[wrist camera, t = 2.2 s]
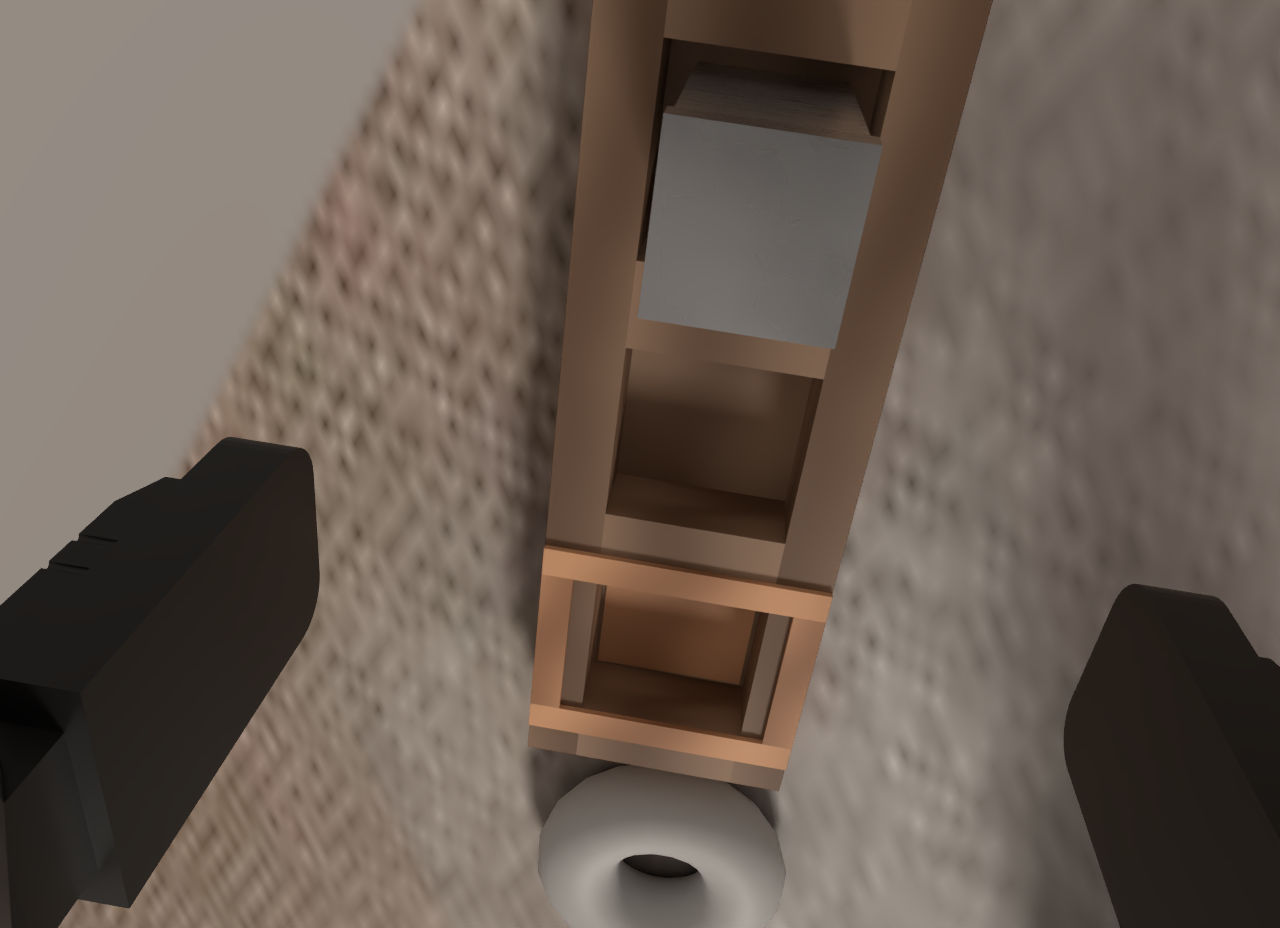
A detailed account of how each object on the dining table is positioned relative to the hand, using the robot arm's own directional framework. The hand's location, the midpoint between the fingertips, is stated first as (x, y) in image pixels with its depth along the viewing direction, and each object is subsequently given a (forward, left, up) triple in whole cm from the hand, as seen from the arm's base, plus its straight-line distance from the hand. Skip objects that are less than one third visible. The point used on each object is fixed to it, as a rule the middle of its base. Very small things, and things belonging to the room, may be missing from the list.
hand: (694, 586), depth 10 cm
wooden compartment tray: (0, +8, -20) cm, 22 cm away
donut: (-1, +28, -21) cm, 35 cm away
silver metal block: (0, 0, -20) cm, 20 cm away
